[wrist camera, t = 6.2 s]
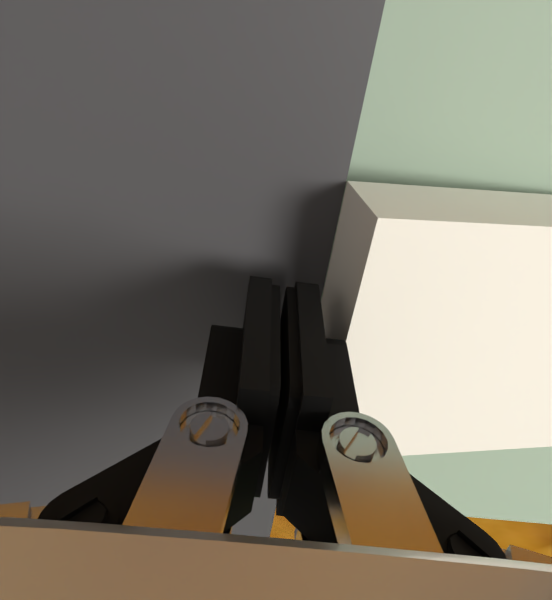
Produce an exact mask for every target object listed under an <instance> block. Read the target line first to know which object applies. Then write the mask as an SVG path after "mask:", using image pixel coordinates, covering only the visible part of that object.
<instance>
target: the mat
mask: <svg viewBox="0 0 552 600" xmlns="http://www.w3.org/2000/svg"><path fill="white" fill-rule="evenodd" d="M347 181H358V182H373V183H388V184H402V185H417V186H432V187H447V188H462V189H476V190H491V191H506V192H521V193H535V194H550V195H552V0H385V5H384V9H383V14H382V19H381V23H380V28H379V33H378V37H377V42H376V46H375V51H374V56H373V60H372V65H371V70H370V74H369V79H368V83H367V88H366V93H365V97H364V102H363V107H362V111H361V116H360V120H359V125H358V130H357V134H356V139H355V144H354V148H353V153H352V157H351V162H350V167H349V171H348V176H347ZM347 181H346V184H347ZM345 189H346V185H345ZM344 193H345V190H344ZM343 198H344V194H343ZM342 203H343V199H342ZM341 207H342V204H341ZM340 212H341V208H340ZM339 217H340V213H339ZM338 221H339V218H338ZM337 226H338V222H337ZM336 231H337V227H336ZM336 231H335V235H336ZM334 240H335V236H334ZM333 244H334V241H333ZM332 249H333V245H332ZM331 254H332V250H331ZM330 258H331V255H330ZM329 263H330V259H329ZM328 268H329V264H328ZM328 268H327V272H328ZM326 277H327V273H326ZM325 281H326V278H325ZM324 286H325V282H324ZM323 291H324V287H323ZM322 295H323V292H322ZM321 300H322V296H321ZM402 458H403V460H404V463H405V465H406V467H407V469H408V472H409V473H410V474H411V475H412V476H413V477H415V478H416V479H417V480H419V481H420V482H421V483H423V484H424V485H425V486H426V487H428V488H429V489H430V490H432V491H433V492H434V493H435V494H437V495H438V496H439V497H441V498H442V499H443V500H445V501H446V502H447V503H448V504H450V505H451V506H452V507H454V508H455V509H456V510H458V511H459V512H460V513H461V514H463V515H464V516H465V517H476V518H488V519H499V520H510V521H521V522H532V523H543V524H552V446H551V447H535V448H519V449H503V450H487V451H471V452H455V453H439V454H423V455H407V456H402Z"/></svg>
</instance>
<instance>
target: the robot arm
mask: <svg viewBox="0 0 552 600" xmlns="http://www.w3.org/2000/svg"><path fill="white" fill-rule="evenodd" d="M267 461H268V490H267V496H268V498H269V499H276V515H279V516H284V517H285V518H286V519H287V520H288V521H289V522H290V523H291V524H292V525H294V526H295V527H296V529H295V540H292V539H281V538H270V537H258V536H247V535H235V534H231V532H232V526H234V525H235V524H236V523H237V522H239V521H240V520H241V519H243V518H244V517H245V516H247V515H248V514H249V513H251V512H252V506H253V501H254V497H259V498H260V496H261V491H262V486H263V481H264V476H265V471H266V466H267ZM0 600H552V557H549V556H546V555H543V554H539V553H536V552H533V551H529V550H526V549H523V548H519V547H516V546H513V545H509V547H508V548H507V550H505V549H502V548H500V546H499V545H498V544H497V542H496V541H495V540H494V539H492V538H491V537H490V536H489V535H488V534H487V533H486V532H485V531H484V530H482V529H481V528H480V527H478V526H477V525H476V524H474V523H473V522H472V521H471V520H469V519H468V518H467V517H465V516H464V515H463V514H461V513H460V512H459V511H458V510H456V509H455V508H454V507H452V506H451V505H450V504H448V503H447V502H446V501H445V500H443V499H442V498H441V497H439V496H438V495H437V494H435V493H434V492H433V491H432V490H430V489H429V488H428V487H426V486H425V485H424V484H423V483H421V482H420V481H419V480H417V479H416V478H415V477H413V476H412V475H411V474H410V473H409V472H408V469H407V467H406V465H405V463H404V460H403V458H402V456H401V453H400V451H399V449H398V446H397V444H396V442H395V439H394V438H393V436H392V434H391V433H390V431H389V430H388V429H387V428H386V427H385V426H384V425H383V424H382V423H381V422H379V421H378V420H376V419H374V418H372V417H371V416H368V415H365V414H362V413H359V407H358V402H357V396H356V391H355V386H354V380H353V375H352V369H351V364H350V359H349V353H348V348H347V344H346V341H345V340H338V339H330V338H326V336H325V329H324V321H323V313H322V306H321V298H320V290H319V285H318V284H311V283H303V282H296V283H295V286H294V287H288V286H287V287H286V291H285V296H284V302H283V307H282V313H281V318H280V285H272V279H271V278H263V277H255V276H250V277H249V284H248V292H247V299H246V307H245V314H244V322H243V328H236V327H228V326H219V325H211V329H210V335H209V340H208V345H207V351H206V356H205V361H204V367H203V372H202V377H201V382H200V388H199V393H198V398H195V399H192V400H189V401H186V402H185V403H184V404H182V405H181V406H179V407H178V408H177V409H176V411H175V412H174V414H173V415H172V417H171V419H170V422H169V424H168V426H167V428H166V430H165V432H164V435H163V437H162V438H161V439H160V440H158V441H156V442H154V443H152V444H150V445H149V446H147V447H145V448H143V449H141V450H140V451H138V452H136V453H134V454H132V455H130V456H129V457H127V458H125V459H123V460H121V461H120V462H118V463H116V464H114V465H112V466H110V467H109V468H107V469H105V470H103V471H101V472H100V473H98V474H96V475H94V476H92V477H90V478H89V479H87V480H85V481H83V482H81V483H80V484H78V485H76V486H74V487H72V488H70V489H69V490H67V491H65V492H63V493H61V494H60V495H59V496H57V497H56V498H54V499H53V500H52V501H50V502H49V503H48V504H47V506H39V507H31V504H30V501H27V502H18V503H9V504H0Z"/></svg>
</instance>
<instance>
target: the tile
mask: <svg viewBox="0 0 552 600" xmlns="http://www.w3.org/2000/svg"><path fill="white" fill-rule="evenodd" d="M321 306H322V313H323V321H324V329H325V336H326V338H330V339H338V340H345V341H346V344H347V348H348V353H349V359H350V364H351V369H352V375H353V380H354V386H355V391H356V396H357V402H358V407H359V413H362V414H365V415H368V416H371V417H372V418H374V419H376V420H378V421H379V422H381V423H382V424H383V425H384V426H385V427H386V428H387V429H388V430H389V431H390V433H391V434H392V436H393V438H394V439H395V442H396V444H397V446H398V449H399V451H400V453H401V456H407V455H423V454H439V453H455V452H471V451H487V450H503V449H519V448H535V447H551V446H552V195H550V194H535V193H521V192H506V191H491V190H476V189H462V188H447V187H432V186H417V185H402V184H388V183H373V182H358V181H347V184H346V189H345V193H344V198H343V203H342V207H341V212H340V217H339V221H338V226H337V231H336V235H335V240H334V244H333V249H332V254H331V258H330V263H329V268H328V272H327V277H326V281H325V286H324V291H323V295H322V300H321Z"/></svg>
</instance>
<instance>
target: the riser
mask: <svg viewBox="0 0 552 600" xmlns="http://www.w3.org/2000/svg"><path fill="white" fill-rule="evenodd" d="M384 5H385V0H0V504H9V503H18V502H27V501H30V504H31V507H39V506H47V504H48V503H49V502H50V501H52V500H53V499H54V498H56V497H57V496H59V495H60V494H61V493H63V492H65V491H67V490H69V489H70V488H72V487H74V486H76V485H78V484H80V483H81V482H83V481H85V480H87V479H89V478H90V477H92V476H94V475H96V474H98V473H100V472H101V471H103V470H105V469H107V468H109V467H110V466H112V465H114V464H116V463H118V462H120V461H121V460H123V459H125V458H127V457H129V456H130V455H132V454H134V453H136V452H138V451H140V450H141V449H143V448H145V447H147V446H149V445H150V444H152V443H154V442H156V441H158V440H160V439H161V438H162V437H163V435H164V432H165V430H166V428H167V426H168V424H169V422H170V419H171V417H172V415H173V414H174V412H175V411H176V409H177V408H178V407H179V406H181V405H182V404H184V403H185V402H186V401H189V400H192V399H195V398H198V393H199V388H200V382H201V377H202V372H203V367H204V361H205V356H206V351H207V345H208V340H209V335H210V329H211V325H219V326H228V327H236V328H243V322H244V314H245V307H246V299H247V292H248V284H249V277H250V276H255V277H263V278H271V279H272V285H280V318H281V313H282V307H283V302H284V296H285V291H286V287H287V286H288V287H294V286H295V283H296V282H303V283H311V284H318V285H319V290H320V298H321V296H322V292H323V287H324V282H325V278H326V273H327V268H328V264H329V259H330V255H331V250H332V245H333V241H334V236H335V231H336V227H337V222H338V218H339V213H340V208H341V204H342V199H343V194H344V190H345V185H346V181H347V176H348V171H349V167H350V162H351V157H352V153H353V148H354V144H355V139H356V134H357V130H358V125H359V120H360V116H361V111H362V107H363V102H364V97H365V93H366V88H367V83H368V79H369V74H370V70H371V65H372V60H373V56H374V51H375V46H376V42H377V37H378V33H379V28H380V23H381V19H382V14H383V9H384ZM267 490H268V461H267V466H266V471H265V476H264V481H263V486H262V491H261V496H260V498H259V497H254V501H253V506H252V512H251V513H249V514H248V515H247V516H245V517H244V518H243V519H241V520H240V521H239V522H237V523H236V524H235V525H234V526H232V532H231V534H235V535H247V536H258V537H270V532H271V528H272V523H273V518H274V514H275V509H276V499H269V498H268V496H267Z"/></svg>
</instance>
